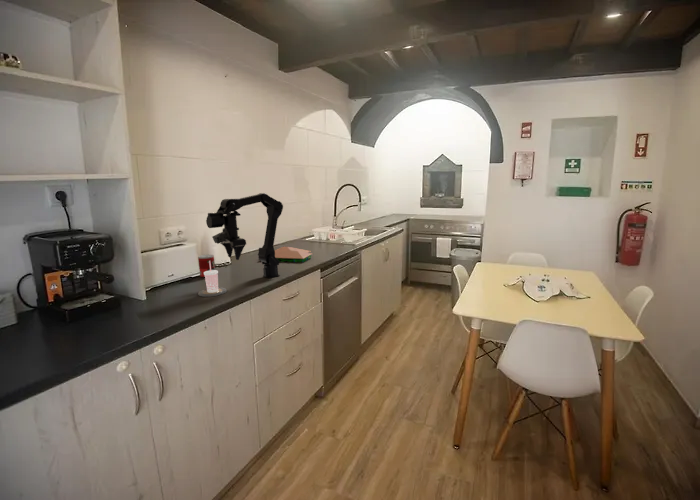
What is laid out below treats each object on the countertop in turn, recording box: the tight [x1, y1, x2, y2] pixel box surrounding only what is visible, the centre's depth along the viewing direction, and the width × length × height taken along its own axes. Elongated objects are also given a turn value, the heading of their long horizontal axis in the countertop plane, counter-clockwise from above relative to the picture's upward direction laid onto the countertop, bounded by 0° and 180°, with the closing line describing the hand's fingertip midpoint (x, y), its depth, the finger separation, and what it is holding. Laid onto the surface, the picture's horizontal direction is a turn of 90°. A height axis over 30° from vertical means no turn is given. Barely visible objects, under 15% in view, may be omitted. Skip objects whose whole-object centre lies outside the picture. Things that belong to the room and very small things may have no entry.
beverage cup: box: [204, 261, 219, 293], centre depth 160 cm, size 6×6×14 cm
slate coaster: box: [197, 287, 228, 298], centre depth 161 cm, size 12×12×1 cm
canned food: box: [197, 254, 216, 278], centre depth 190 cm, size 8×8×11 cm
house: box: [274, 246, 313, 263], centre depth 231 cm, size 23×33×8 cm
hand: (233, 258), depth 170 cm, fingers open, 9 cm apart
